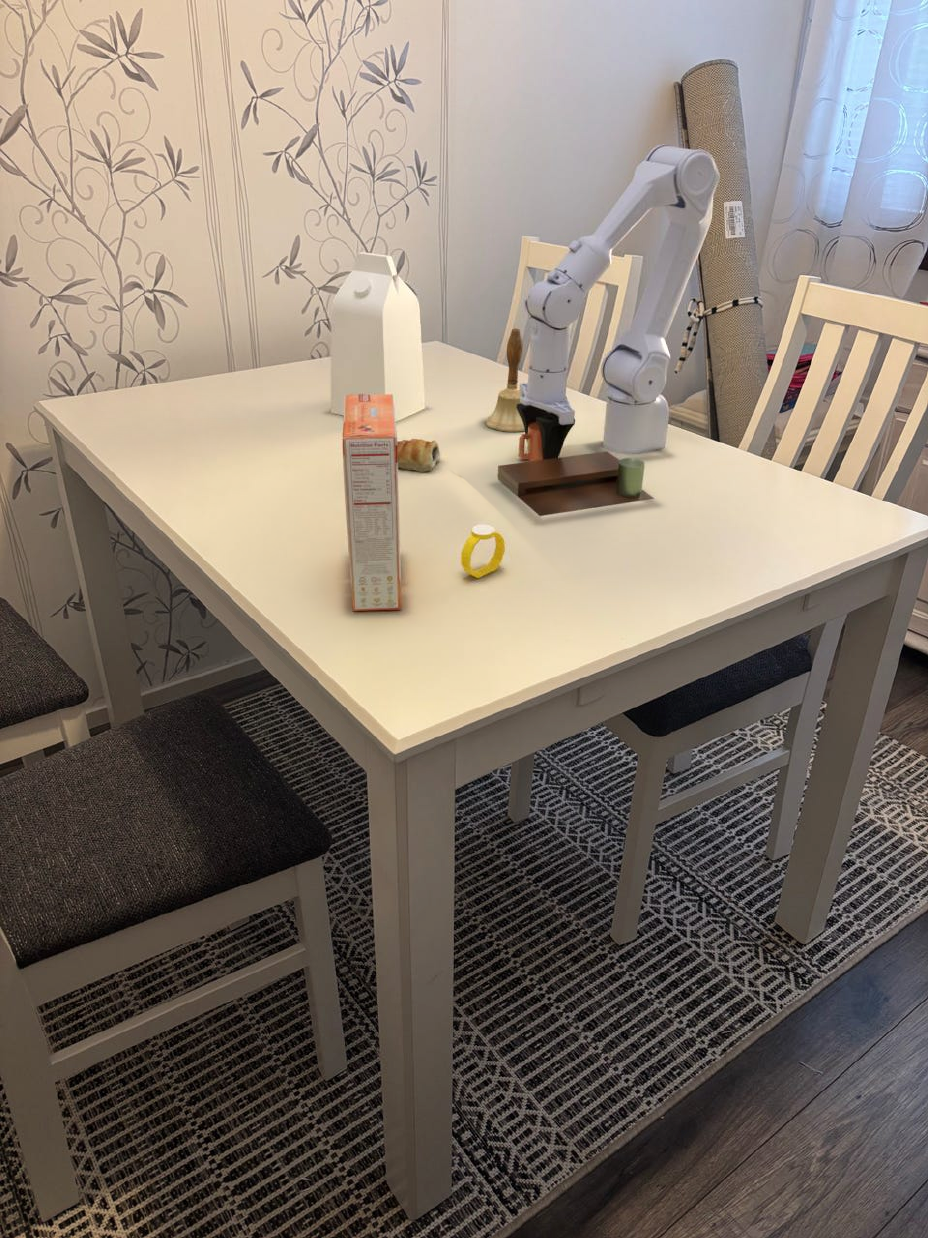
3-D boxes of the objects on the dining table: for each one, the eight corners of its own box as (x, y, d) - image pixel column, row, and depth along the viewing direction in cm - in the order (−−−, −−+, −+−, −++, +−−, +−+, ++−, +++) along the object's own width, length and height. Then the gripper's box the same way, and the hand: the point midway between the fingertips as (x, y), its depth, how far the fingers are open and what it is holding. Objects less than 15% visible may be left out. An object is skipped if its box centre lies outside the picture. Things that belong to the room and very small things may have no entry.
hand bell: (536, 418, 168) (542, 324, 160) (531, 434, 161) (537, 337, 153) (489, 414, 170) (493, 321, 162) (482, 430, 163) (485, 333, 155)
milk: (425, 408, 172) (425, 253, 159) (386, 425, 163) (383, 264, 150) (370, 396, 177) (366, 245, 164) (330, 412, 169) (322, 255, 156)
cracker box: (350, 557, 121) (343, 392, 110) (399, 556, 121) (396, 391, 111) (348, 613, 109) (340, 434, 98) (402, 612, 109) (399, 433, 99)
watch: (492, 562, 120) (494, 518, 117) (508, 570, 119) (510, 525, 116) (456, 576, 117) (457, 531, 114) (471, 585, 115) (473, 539, 112)
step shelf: (605, 469, 148) (606, 451, 147) (653, 504, 137) (656, 484, 135) (497, 484, 142) (497, 465, 141) (539, 522, 131) (540, 502, 129)
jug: (552, 456, 153) (554, 419, 150) (566, 467, 149) (569, 429, 146) (511, 461, 150) (513, 424, 147) (524, 472, 146) (527, 434, 143)
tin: (632, 486, 140) (636, 456, 138) (646, 495, 137) (649, 465, 135) (611, 489, 139) (614, 459, 137) (623, 498, 136) (627, 468, 134)
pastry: (371, 467, 147) (371, 443, 145) (384, 452, 153) (384, 429, 151) (432, 473, 145) (432, 449, 143) (442, 458, 151) (442, 434, 149)
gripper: (503, 356, 147) (499, 442, 154) (545, 383, 135) (539, 475, 142) (544, 352, 149) (539, 437, 156) (590, 378, 137) (582, 469, 144)
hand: (542, 455), depth 149 cm, fingers closed on jug, 5 cm apart
